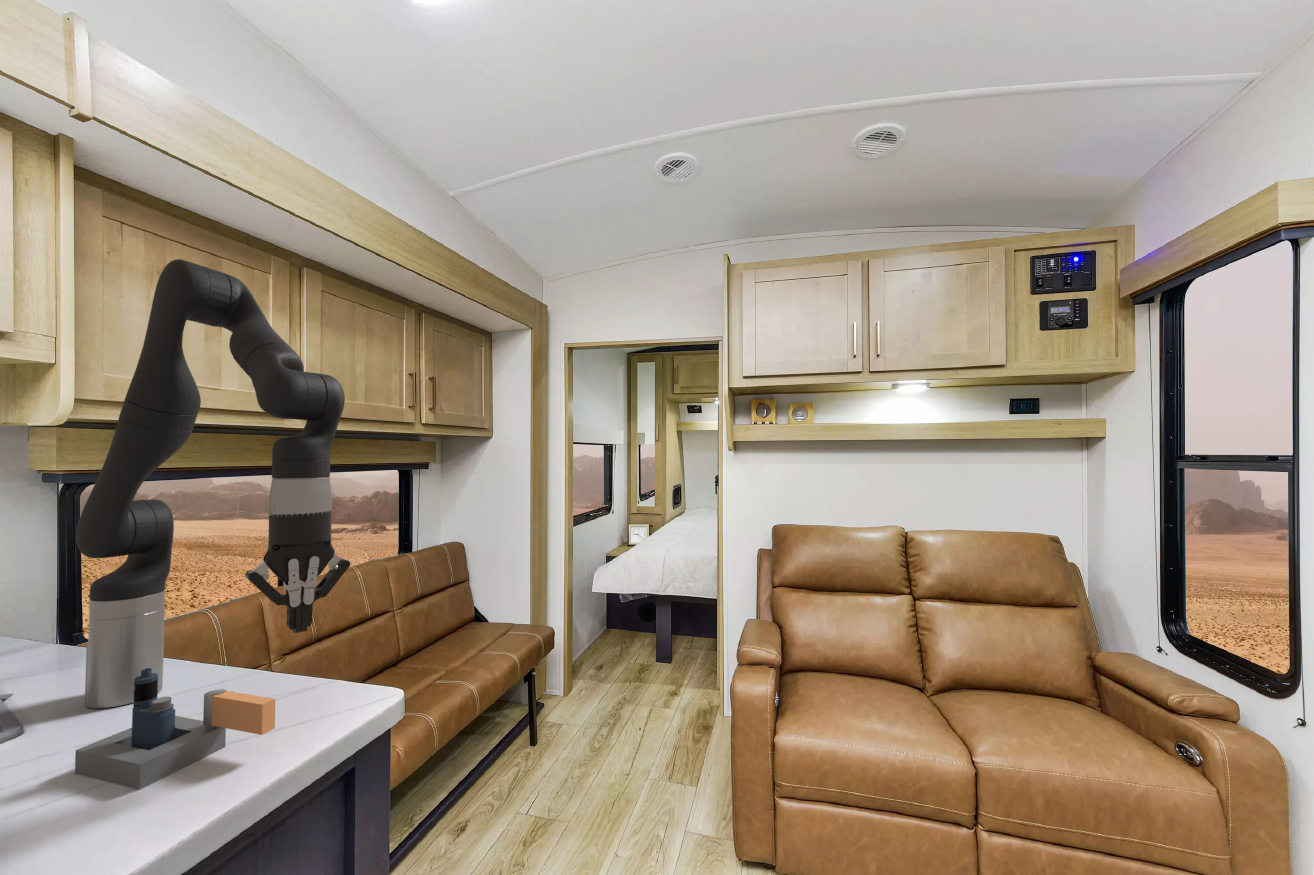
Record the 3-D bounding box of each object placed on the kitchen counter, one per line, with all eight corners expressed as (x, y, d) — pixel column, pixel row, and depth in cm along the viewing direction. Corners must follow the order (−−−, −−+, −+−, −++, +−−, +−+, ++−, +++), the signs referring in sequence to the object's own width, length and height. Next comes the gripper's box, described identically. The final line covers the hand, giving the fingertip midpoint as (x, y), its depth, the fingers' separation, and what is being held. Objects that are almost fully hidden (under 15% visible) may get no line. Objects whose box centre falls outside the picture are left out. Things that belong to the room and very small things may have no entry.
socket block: (74, 773, 69) (75, 748, 69) (167, 733, 79) (168, 711, 79) (139, 789, 65) (140, 763, 66) (227, 745, 75) (228, 722, 75)
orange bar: (198, 724, 74) (199, 695, 74) (217, 716, 77) (217, 688, 77) (259, 736, 71) (260, 705, 71) (276, 727, 73) (277, 697, 74)
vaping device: (146, 754, 73) (149, 665, 74) (178, 757, 72) (181, 667, 73) (125, 764, 71) (128, 672, 71) (157, 768, 70) (160, 675, 70)
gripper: (343, 504, 84) (342, 615, 84) (238, 511, 75) (235, 636, 74) (360, 507, 79) (358, 625, 79) (249, 515, 69) (247, 650, 69)
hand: (299, 631), depth 76 cm, fingers closed
